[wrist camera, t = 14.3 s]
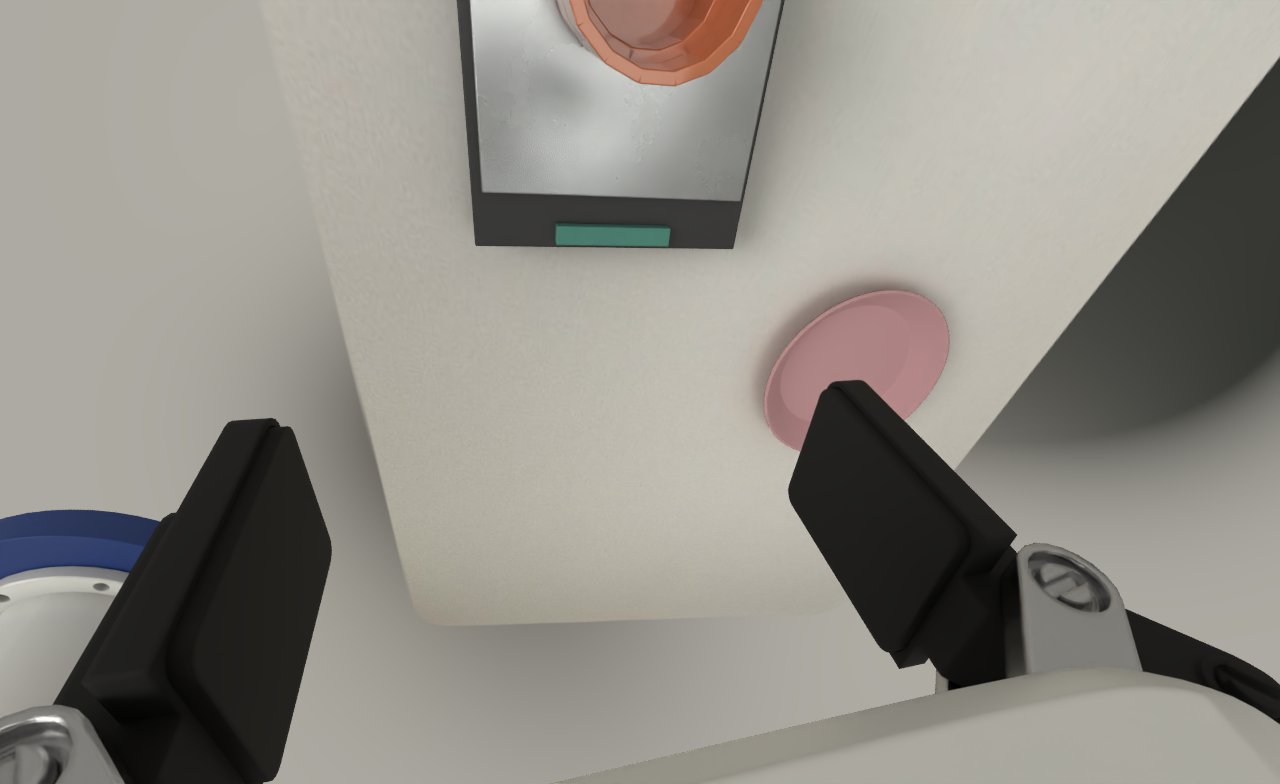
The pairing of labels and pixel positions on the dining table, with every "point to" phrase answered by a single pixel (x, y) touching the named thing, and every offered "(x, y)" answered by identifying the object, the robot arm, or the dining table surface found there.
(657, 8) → the bowl
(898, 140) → the dining table surface
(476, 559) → the dining table surface
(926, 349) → the plate
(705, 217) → the scale
